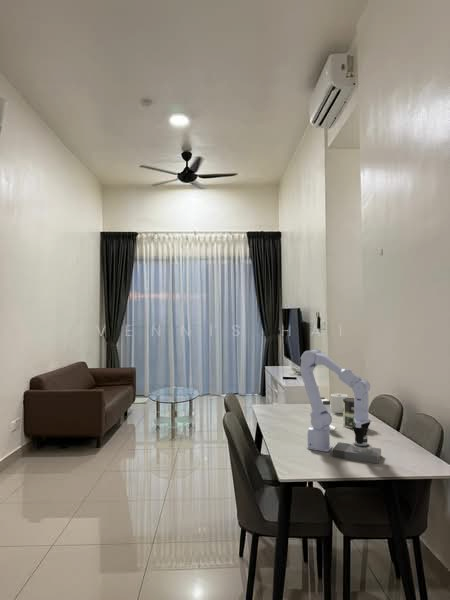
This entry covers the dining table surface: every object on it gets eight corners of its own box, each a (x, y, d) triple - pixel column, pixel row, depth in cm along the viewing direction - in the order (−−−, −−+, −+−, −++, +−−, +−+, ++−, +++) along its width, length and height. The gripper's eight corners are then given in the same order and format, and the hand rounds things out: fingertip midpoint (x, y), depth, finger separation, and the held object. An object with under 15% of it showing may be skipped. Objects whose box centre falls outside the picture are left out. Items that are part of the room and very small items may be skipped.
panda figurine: (310, 424, 229) (310, 396, 230) (331, 424, 230) (330, 396, 231) (316, 430, 218) (316, 401, 218) (338, 430, 218) (338, 401, 219)
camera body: (332, 456, 178) (332, 444, 179) (338, 449, 188) (338, 437, 188) (377, 464, 170) (377, 451, 170) (381, 455, 180) (381, 443, 180)
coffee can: (367, 428, 223) (366, 401, 223) (349, 429, 220) (349, 402, 221) (356, 423, 233) (355, 397, 233) (339, 424, 230) (339, 398, 231)
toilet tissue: (348, 410, 264) (348, 394, 264) (348, 414, 252) (348, 397, 253) (331, 408, 267) (331, 393, 267) (330, 413, 256) (329, 396, 256)
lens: (354, 450, 177) (354, 436, 177) (355, 447, 182) (355, 433, 182) (367, 452, 175) (367, 437, 175) (368, 448, 180) (367, 434, 180)
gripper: (368, 413, 170) (368, 447, 170) (373, 406, 183) (374, 437, 183) (350, 411, 174) (350, 444, 173) (357, 404, 187) (357, 435, 186)
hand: (361, 441), depth 178 cm, fingers open, 7 cm apart
